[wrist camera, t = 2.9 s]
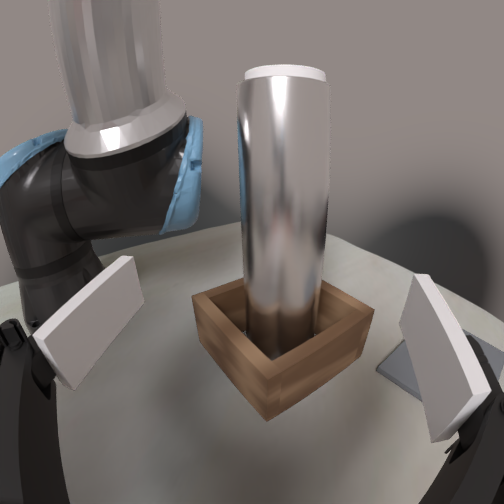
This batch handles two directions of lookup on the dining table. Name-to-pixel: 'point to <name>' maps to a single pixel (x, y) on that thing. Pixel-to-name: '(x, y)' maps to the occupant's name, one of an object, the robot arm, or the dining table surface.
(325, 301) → the square wooden frame
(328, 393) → the dining table surface
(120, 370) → the dining table surface
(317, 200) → the shiny metal cylinder
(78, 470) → the dining table surface
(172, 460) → the dining table surface
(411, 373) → the mat
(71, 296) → the robot arm
